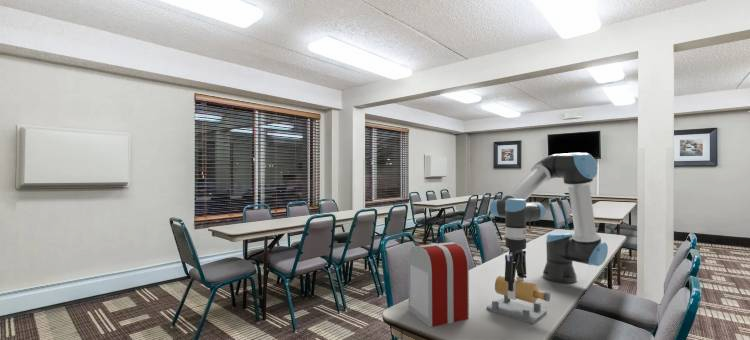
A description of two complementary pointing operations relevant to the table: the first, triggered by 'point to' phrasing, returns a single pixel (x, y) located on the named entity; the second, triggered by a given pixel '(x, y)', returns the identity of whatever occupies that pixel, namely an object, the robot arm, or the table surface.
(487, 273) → the table surface
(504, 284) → the amber bottle
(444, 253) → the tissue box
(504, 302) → the u rest
